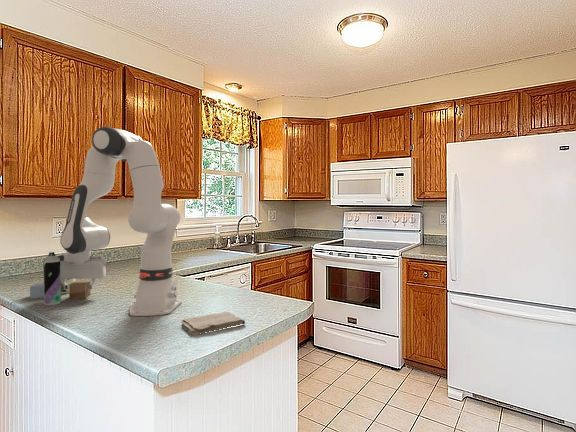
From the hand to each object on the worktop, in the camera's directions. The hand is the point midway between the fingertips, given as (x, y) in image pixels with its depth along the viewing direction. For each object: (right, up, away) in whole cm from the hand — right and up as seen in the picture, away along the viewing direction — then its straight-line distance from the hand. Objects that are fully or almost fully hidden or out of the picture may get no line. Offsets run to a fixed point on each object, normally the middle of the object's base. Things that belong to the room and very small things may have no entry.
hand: (78, 289), depth 151 cm
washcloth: (+63, -6, -34) cm, 71 cm away
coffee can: (-12, -3, +9) cm, 16 cm away
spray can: (-4, -4, -10) cm, 12 cm away
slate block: (-17, -3, 0) cm, 17 cm away
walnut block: (0, -3, 0) cm, 3 cm away
